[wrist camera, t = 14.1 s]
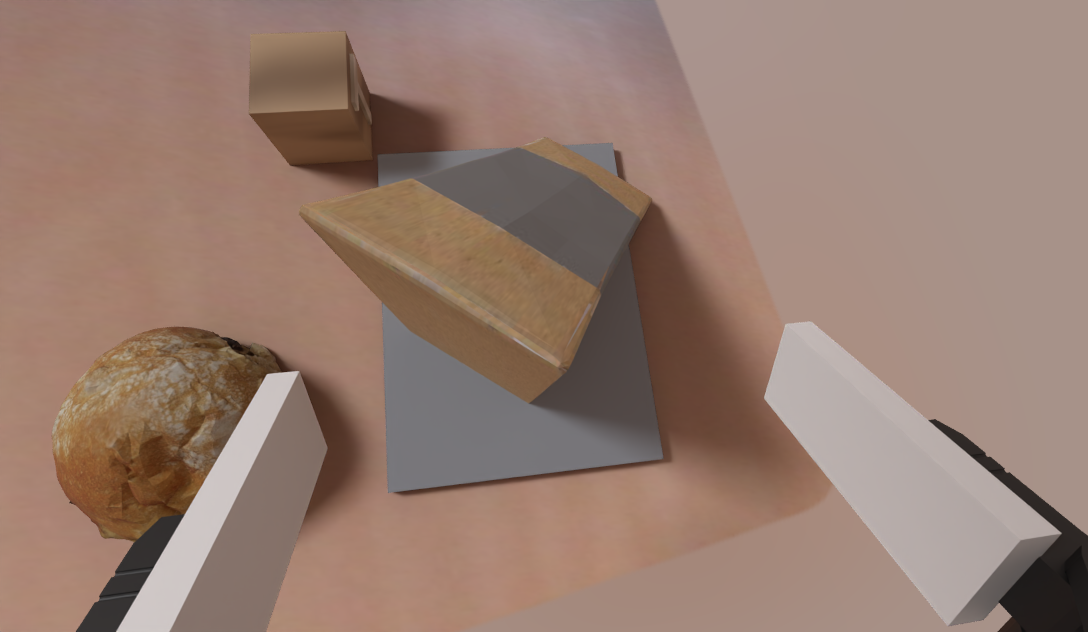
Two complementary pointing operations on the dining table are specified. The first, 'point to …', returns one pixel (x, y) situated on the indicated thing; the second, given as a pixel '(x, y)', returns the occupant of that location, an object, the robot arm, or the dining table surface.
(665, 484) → the dining table surface
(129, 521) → the bread roll
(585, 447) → the grey rubber mat
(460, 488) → the dining table surface
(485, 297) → the sandwich container
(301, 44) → the wooden letter cube
